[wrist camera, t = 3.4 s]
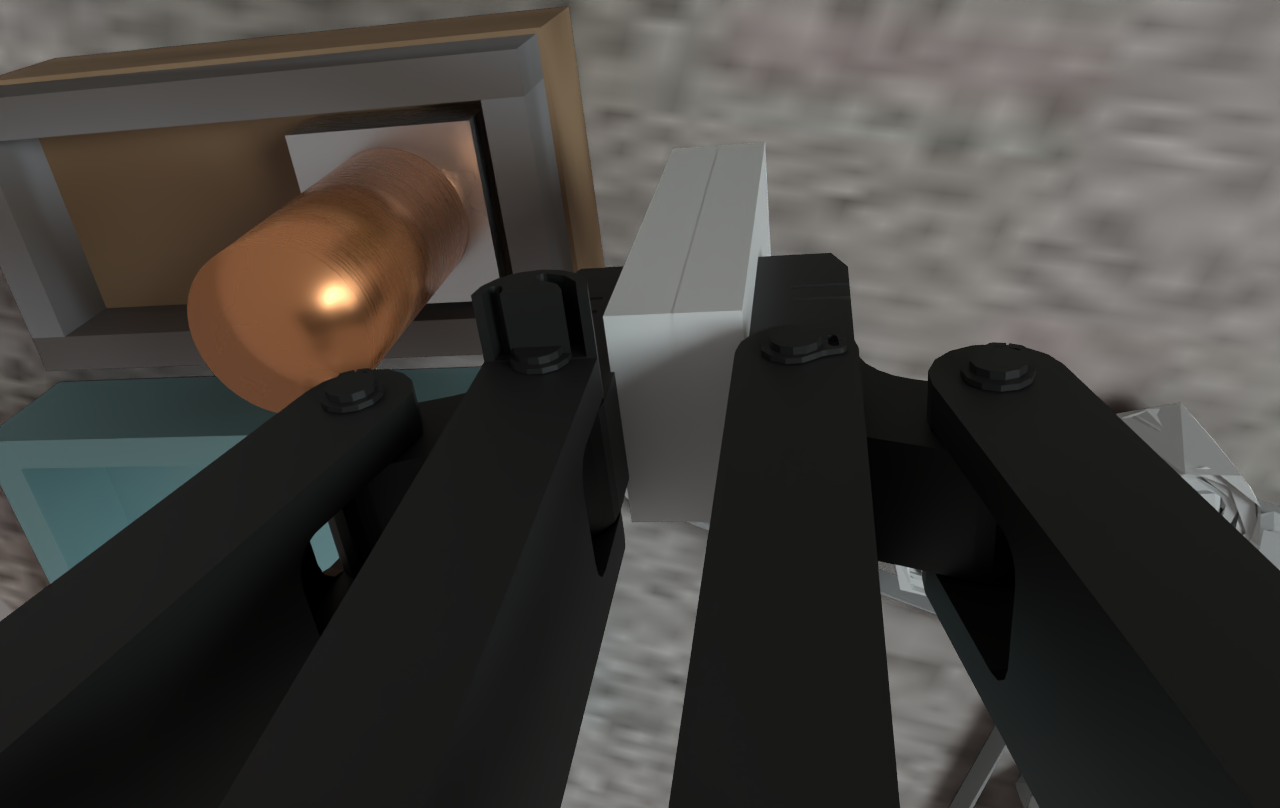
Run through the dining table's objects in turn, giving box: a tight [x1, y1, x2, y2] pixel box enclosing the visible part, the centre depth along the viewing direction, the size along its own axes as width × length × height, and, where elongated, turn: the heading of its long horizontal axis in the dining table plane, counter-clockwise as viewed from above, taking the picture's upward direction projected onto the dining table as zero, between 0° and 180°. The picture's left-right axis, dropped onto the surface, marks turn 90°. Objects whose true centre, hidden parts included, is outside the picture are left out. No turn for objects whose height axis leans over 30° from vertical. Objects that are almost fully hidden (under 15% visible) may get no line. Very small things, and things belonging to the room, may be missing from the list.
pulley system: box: [625, 402, 1280, 808], centre depth 26 cm, size 27×5×15 cm
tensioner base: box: [0, 6, 605, 371], centre depth 21 cm, size 6×12×4 cm, turn 97°
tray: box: [0, 367, 481, 584], centre depth 28 cm, size 13×13×3 cm
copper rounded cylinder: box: [187, 103, 513, 413], centre depth 18 cm, size 4×4×6 cm
